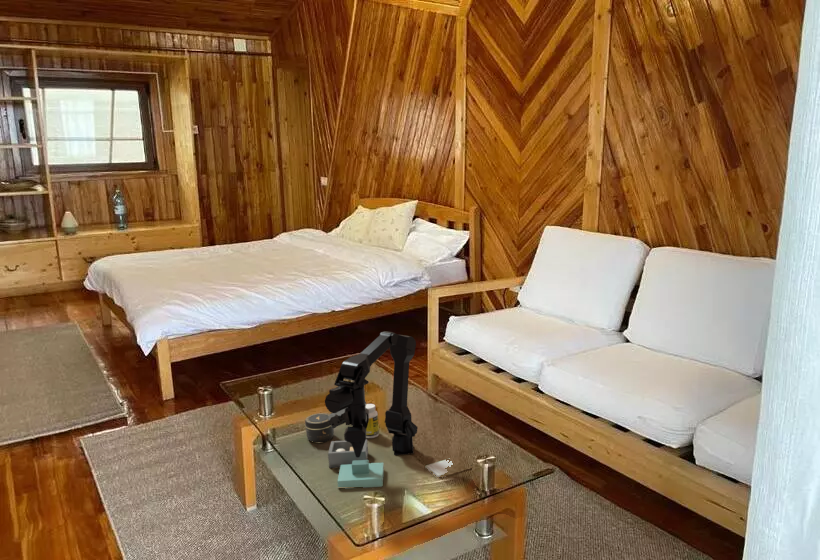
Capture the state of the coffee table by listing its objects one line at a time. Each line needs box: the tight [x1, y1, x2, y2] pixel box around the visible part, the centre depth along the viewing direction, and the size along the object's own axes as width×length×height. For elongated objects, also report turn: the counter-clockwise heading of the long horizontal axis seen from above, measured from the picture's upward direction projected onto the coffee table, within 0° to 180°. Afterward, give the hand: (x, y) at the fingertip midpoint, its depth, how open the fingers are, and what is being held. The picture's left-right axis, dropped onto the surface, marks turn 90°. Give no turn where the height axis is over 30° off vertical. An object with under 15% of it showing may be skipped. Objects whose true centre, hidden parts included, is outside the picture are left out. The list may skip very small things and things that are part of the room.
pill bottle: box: [366, 403, 380, 439], centre depth 219 cm, size 6×6×11 cm
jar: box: [304, 412, 335, 443], centre depth 219 cm, size 10×10×8 cm
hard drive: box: [425, 459, 453, 478], centre depth 193 cm, size 2×8×12 cm
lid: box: [337, 459, 385, 488], centre depth 188 cm, size 13×10×6 cm
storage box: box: [327, 438, 369, 469], centre depth 201 cm, size 12×9×5 cm
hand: (359, 450), depth 187 cm, fingers open, 9 cm apart
